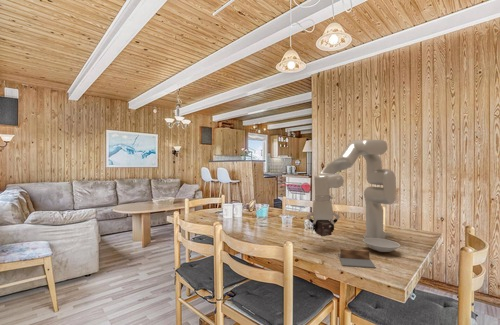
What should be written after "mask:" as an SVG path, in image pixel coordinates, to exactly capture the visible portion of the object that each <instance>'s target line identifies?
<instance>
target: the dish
mask: <svg viewBox="0 0 500 325" xmlns="http://www.w3.org/2000/svg"><path fill="white" fill-rule="evenodd" d="M362 242H363V243H364V244H365V245H366V247H369V248H370V249H371V250H374V251H377V252H379V253H389V252H390V253H391V252H393V251H396V250H397V249H398V248H400V247H401V244H400V243H399V242H397V241H394V240H391V239H387V238H386V239H380V238H363V239H362Z"/></svg>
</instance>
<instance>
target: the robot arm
mask: <svg viewBox="0 0 500 325" xmlns="http://www.w3.org/2000/svg"><path fill="white" fill-rule="evenodd" d="M387 151H388V144H387V142H386V141H385V140H384V139H356V140H352V141H350V142H349V143H348V144H347V145H346V147H345V148H344V150H343V151H342V153H341V154H340V155H339V157H337V158H335V159H334V160H333V161H331V162H330V163H328V164H327V165H325V166H324V168H322V170H321V171H320V173H319V174H317V175H315V176H314V178H313V181H314V182H313V183H314V184H313V185H314V200H313V203H312V212H310V213H308V214H307V216H306V218H307V219H308V221H309V223H311V224H312V230H313V231H314V232H315V233H316V221H317V220H329V221H331V231H332V233H334V230H335V224H336V223H337V222H338V221H339V219H340V215H338V213H336V212H334V210H333V202H332V200H333V198H334V197H333V195H331V194H330V193H331V192H330V188H332V189H337V188H341V187H342V186H343V185H344V182H345V180H344V177H343V176H342V175H341V174H339V173H338V172H342V171H344V170H348V169H349V168H352V167H353V165H354V164H355V163H356V161H357V160H358V158H359V157H360V156H362V157H363V158H364V160H365V165H366V166H365V167H366V173H365V174H366V175H365V176H366V181H367V183H368V184H371V185H375V186H368V187H366V188H365V190H364V191H363V198H364V202H365V233H364V234H363V235H362V237H363V239H365V238H380V239H387V237H391V238H392V237H393V234H392V233H389V232H386V231H384V209H383V206H382V204H383V205H389V206H391V205H393V204H394V203H395V202H396V199H397V181H396V180H397V178H396V174H395V173H394V171H393V170H391V169H388V168H387V169H386V168H383V163H382V161H383V160H382V158H381V157H380V156H381V155H384V154H386V153H387ZM376 185H377V186H376ZM311 217H313V219H312V218H311ZM334 217H335V218H334Z"/></svg>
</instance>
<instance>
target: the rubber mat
mask: <svg viewBox="0 0 500 325" xmlns="http://www.w3.org/2000/svg"><path fill="white" fill-rule="evenodd" d="M337 255H338V258H339V261H340V263H341V266H342V267H351V268H364V269H365V268H366V269H376V268H377V266H376V265H375V264H374V263H373V261H372V260H371V258H370V257H369V260H366V259H351V258H341V257H340V253H337Z"/></svg>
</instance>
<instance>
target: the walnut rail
mask: <svg viewBox="0 0 500 325" xmlns="http://www.w3.org/2000/svg"><path fill="white" fill-rule="evenodd" d="M339 254H340V257H341V258H351V259H366V260H369V258H370V250H368V249H356V248H355V249H354V248H351V249H349V248H340V253H339Z"/></svg>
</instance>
